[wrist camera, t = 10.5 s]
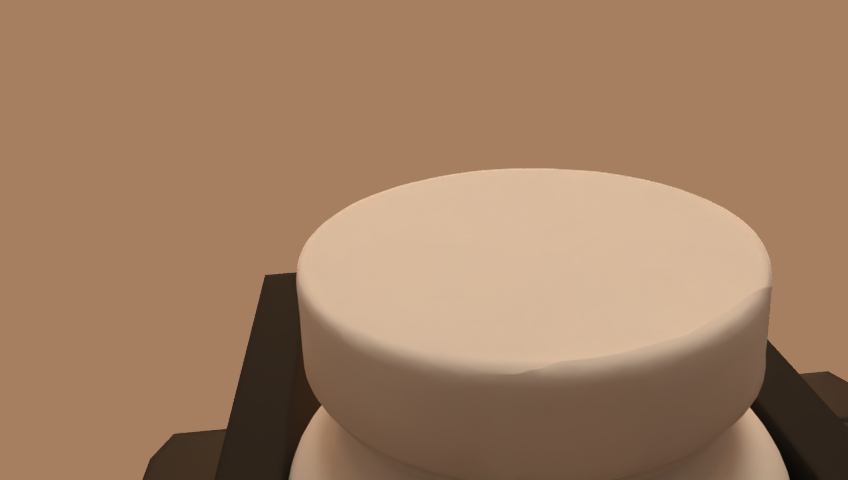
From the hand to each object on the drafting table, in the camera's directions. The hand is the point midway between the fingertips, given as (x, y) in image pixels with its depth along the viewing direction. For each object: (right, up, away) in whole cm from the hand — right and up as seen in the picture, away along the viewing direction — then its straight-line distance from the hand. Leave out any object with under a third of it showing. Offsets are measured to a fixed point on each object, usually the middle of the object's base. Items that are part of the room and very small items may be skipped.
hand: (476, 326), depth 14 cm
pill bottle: (+1, -8, -2) cm, 8 cm away
